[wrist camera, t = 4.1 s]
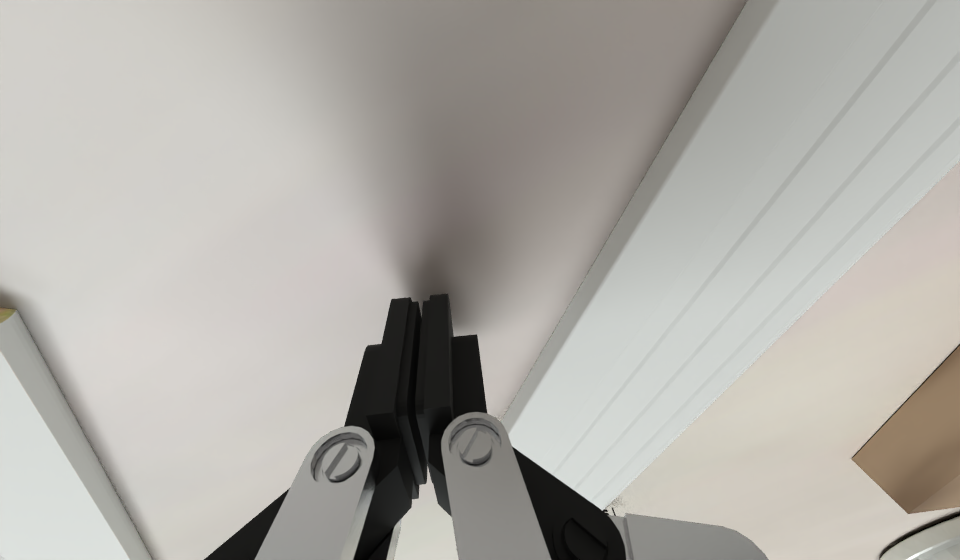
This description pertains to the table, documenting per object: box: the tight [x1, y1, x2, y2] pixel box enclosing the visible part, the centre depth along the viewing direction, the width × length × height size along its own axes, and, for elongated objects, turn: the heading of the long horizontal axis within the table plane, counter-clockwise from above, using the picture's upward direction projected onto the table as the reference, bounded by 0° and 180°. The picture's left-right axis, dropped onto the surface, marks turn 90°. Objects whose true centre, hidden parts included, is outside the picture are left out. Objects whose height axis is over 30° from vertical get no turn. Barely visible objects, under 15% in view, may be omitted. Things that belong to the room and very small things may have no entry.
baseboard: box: [501, 0, 960, 516], centre depth 11 cm, size 30×3×10 cm
